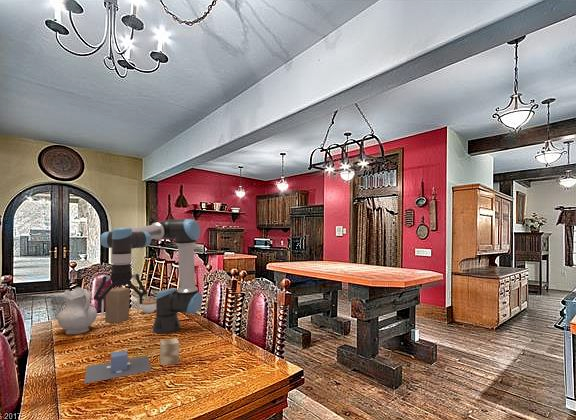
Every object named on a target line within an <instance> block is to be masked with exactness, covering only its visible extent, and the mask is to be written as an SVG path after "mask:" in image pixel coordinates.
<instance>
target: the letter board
mask: <svg viewBox="0 0 576 420" xmlns="http://www.w3.org/2000/svg"><path fill="white" fill-rule="evenodd" d="M152 371H153V370H152V367H151V364H150V360H149V357H148V355H146V356H145V355H144V356H140V357H139V356H138V357H133V358H127V370H121V371H116V372H111V361H110V362H105V363H98V364H97V363H96V364H92V365H86V369H85V375H84V380H83V382H84V383H83V384H88V383H93V382H99V381H104V380H110V379H115V378H119V377H120V378H121V377H125V376H131V375H136V374H137V375H138V374H141V373H147V372H152Z"/></svg>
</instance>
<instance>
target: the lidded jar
mask: <svg viewBox="0 0 576 420" xmlns="http://www.w3.org/2000/svg"><path fill="white" fill-rule="evenodd" d="M140 310H141V311H142V312H143V314H153V313H154V312H156V299H151V298H148V299H145V300H142V304H140Z"/></svg>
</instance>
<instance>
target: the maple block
mask: <svg viewBox="0 0 576 420" xmlns="http://www.w3.org/2000/svg"><path fill="white" fill-rule="evenodd" d="M159 343H160V344H159V345H160V346H159V351H160V352H159V361H160V364H161V366H165V365H166V366H167V365H177V364H178V365H179V364H180V341H179V339H178V338H177V337H174V338H170V339H169V338H167V339H162V340H160V341H159Z"/></svg>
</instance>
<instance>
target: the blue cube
mask: <svg viewBox="0 0 576 420" xmlns="http://www.w3.org/2000/svg"><path fill="white" fill-rule="evenodd" d="M127 359H128V351H127V350H126V349H124V350H121V351H120V350H119V351H113V352H111V353H110V362H111V372H116V371H121V370H127Z"/></svg>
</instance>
